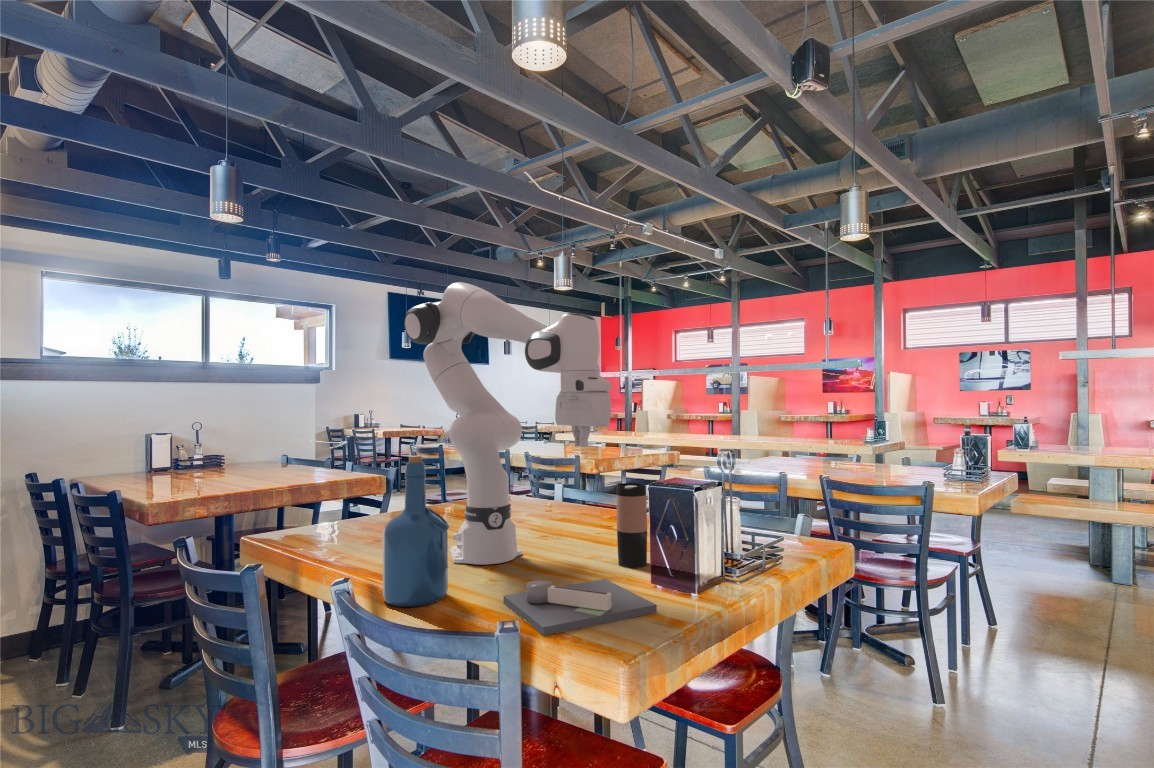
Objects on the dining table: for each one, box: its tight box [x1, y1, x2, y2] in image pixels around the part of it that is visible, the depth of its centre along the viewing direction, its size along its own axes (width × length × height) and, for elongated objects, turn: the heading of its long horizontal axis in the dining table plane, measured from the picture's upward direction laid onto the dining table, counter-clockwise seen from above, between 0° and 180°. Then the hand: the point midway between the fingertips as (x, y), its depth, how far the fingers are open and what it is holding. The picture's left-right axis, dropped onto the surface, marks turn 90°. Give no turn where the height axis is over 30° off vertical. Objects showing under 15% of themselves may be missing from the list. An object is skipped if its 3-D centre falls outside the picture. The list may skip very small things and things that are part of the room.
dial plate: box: [502, 578, 658, 637], centre depth 117 cm, size 20×24×2 cm
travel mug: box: [616, 482, 648, 569], centre depth 150 cm, size 8×8×20 cm
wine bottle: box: [382, 455, 450, 608], centre depth 125 cm, size 14×13×30 cm
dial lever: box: [526, 579, 611, 611], centre depth 114 cm, size 5×18×3 cm, turn 65°
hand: (581, 446), depth 132 cm, fingers closed
